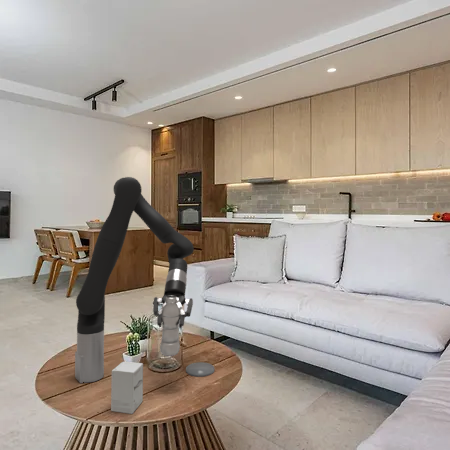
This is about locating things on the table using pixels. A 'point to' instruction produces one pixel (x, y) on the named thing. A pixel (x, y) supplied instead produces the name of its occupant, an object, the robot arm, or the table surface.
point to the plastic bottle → (170, 327)
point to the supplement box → (127, 387)
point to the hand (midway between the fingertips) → (170, 326)
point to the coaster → (200, 369)
